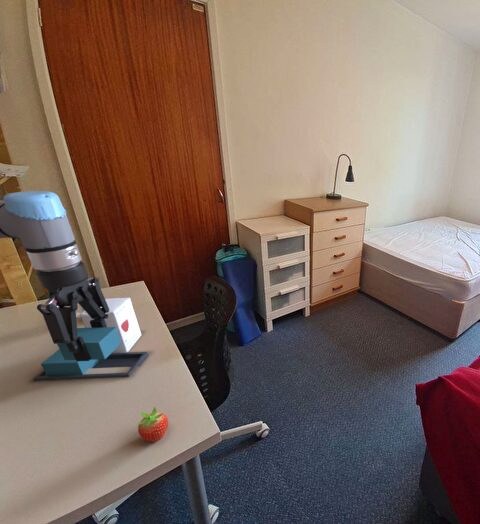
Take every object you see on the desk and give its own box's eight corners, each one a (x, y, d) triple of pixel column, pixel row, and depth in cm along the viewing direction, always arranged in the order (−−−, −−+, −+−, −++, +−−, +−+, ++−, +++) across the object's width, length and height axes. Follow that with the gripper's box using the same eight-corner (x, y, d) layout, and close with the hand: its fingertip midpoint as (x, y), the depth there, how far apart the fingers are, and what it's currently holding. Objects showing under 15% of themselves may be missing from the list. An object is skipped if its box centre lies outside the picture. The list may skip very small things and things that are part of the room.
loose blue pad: (64, 360, 66) (56, 343, 64) (84, 343, 72) (78, 327, 70) (105, 359, 67) (98, 342, 65) (121, 343, 73) (116, 327, 71)
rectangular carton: (128, 353, 86) (113, 312, 80) (95, 356, 85) (77, 314, 79) (143, 335, 94) (130, 296, 89) (113, 337, 93) (98, 298, 87)
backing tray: (36, 384, 75) (32, 378, 74) (64, 360, 83) (62, 354, 82) (130, 380, 77) (128, 374, 76) (149, 356, 85) (147, 351, 85)
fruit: (175, 426, 65) (168, 402, 62) (166, 449, 60) (157, 423, 57) (150, 429, 64) (141, 404, 61) (138, 452, 59) (127, 426, 56)
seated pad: (47, 378, 76) (40, 363, 74) (66, 362, 82) (59, 348, 80) (83, 376, 77) (77, 362, 75) (99, 360, 82) (94, 347, 80)
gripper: (37, 286, 52) (79, 379, 61) (109, 250, 69) (134, 327, 78) (-8, 286, 51) (42, 380, 60) (77, 249, 69) (106, 327, 78)
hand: (94, 350), depth 69 cm, fingers closed on loose blue pad, 6 cm apart
